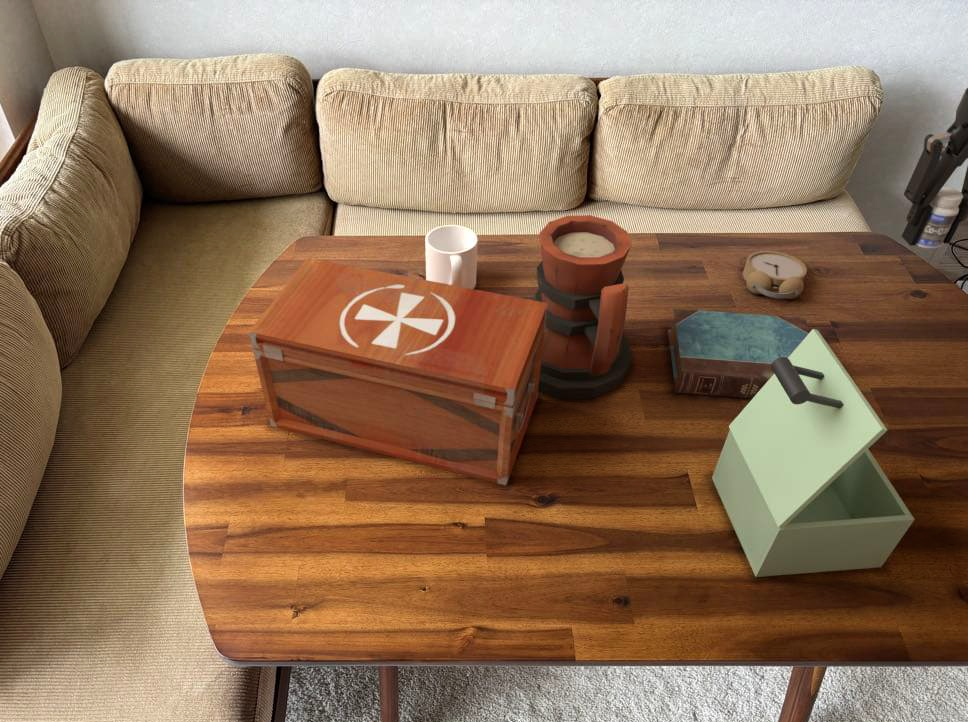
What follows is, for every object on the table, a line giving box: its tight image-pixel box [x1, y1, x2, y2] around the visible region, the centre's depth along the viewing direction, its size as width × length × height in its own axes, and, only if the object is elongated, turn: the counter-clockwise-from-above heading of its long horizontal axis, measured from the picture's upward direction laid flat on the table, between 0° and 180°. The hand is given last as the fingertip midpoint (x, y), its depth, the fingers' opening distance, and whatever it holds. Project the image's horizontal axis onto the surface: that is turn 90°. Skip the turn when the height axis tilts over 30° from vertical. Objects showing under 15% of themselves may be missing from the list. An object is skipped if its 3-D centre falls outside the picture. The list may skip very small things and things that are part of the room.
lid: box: [728, 328, 888, 528], centre depth 96 cm, size 18×18×8 cm
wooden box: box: [248, 257, 548, 486], centre depth 121 cm, size 20×41×20 cm, turn 71°
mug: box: [424, 224, 478, 289], centre depth 150 cm, size 13×10×10 cm
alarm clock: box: [742, 250, 808, 300], centre depth 150 cm, size 11×5×15 cm
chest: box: [711, 429, 915, 578], centre depth 107 cm, size 18×18×11 cm
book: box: [667, 308, 811, 400], centre depth 133 cm, size 23×18×5 cm
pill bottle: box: [914, 186, 963, 250], centre depth 118 cm, size 5×5×8 cm
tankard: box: [533, 214, 633, 400], centre depth 128 cm, size 22×25×25 cm
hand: (925, 239), depth 121 cm, fingers closed on pill bottle, 5 cm apart
